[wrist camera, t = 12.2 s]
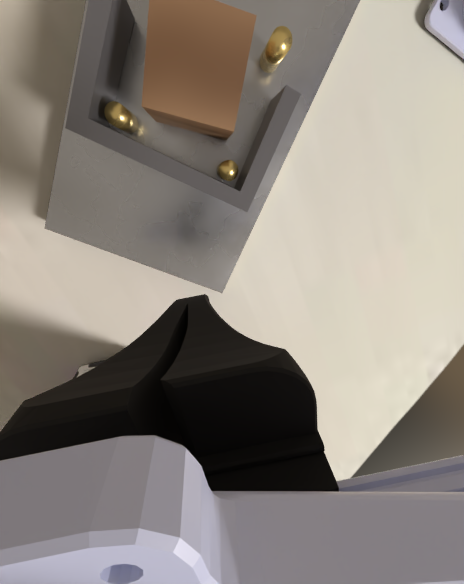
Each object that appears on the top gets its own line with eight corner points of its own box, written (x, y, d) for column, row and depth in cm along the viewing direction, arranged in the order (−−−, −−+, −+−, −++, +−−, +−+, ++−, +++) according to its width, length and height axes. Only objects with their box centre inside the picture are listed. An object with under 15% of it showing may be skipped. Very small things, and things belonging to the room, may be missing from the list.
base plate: (137, -203, 11) (109, -365, 8) (362, -19, 14) (412, -77, 11) (54, 224, 18) (19, 237, 14) (221, 286, 21) (224, 309, 17)
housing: (117, 8, 13) (95, -36, 10) (283, 107, 15) (301, 94, 12) (90, 135, 15) (65, 128, 12) (240, 205, 17) (247, 212, 14)
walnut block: (164, 29, 13) (151, -24, 10) (242, 55, 14) (256, 15, 10) (156, 121, 15) (141, 106, 11) (226, 140, 15) (234, 131, 12)
